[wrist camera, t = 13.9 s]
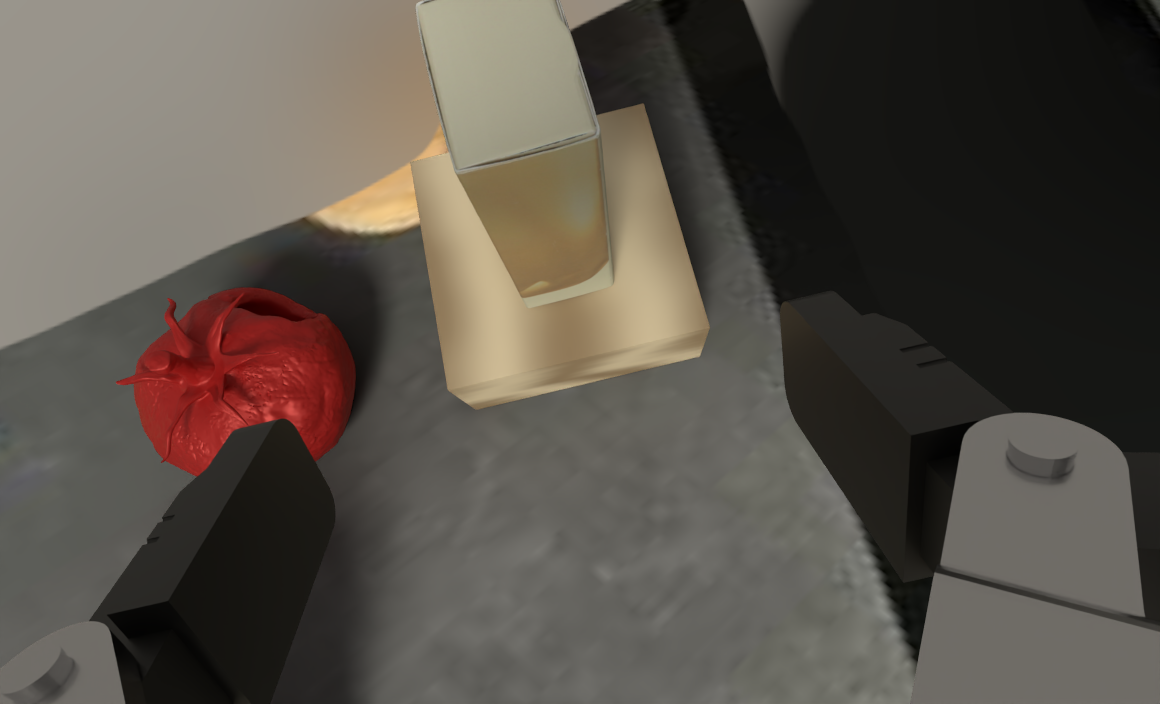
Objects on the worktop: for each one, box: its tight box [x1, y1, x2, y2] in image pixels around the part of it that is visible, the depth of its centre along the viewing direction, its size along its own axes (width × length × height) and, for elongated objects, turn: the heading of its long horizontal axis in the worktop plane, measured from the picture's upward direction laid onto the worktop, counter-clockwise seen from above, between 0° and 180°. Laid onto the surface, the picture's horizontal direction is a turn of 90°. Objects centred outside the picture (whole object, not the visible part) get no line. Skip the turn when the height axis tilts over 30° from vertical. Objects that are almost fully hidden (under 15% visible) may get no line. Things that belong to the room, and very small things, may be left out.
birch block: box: [410, 103, 710, 410], centre depth 32 cm, size 12×12×5 cm
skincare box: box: [416, 0, 614, 308], centre depth 24 cm, size 6×4×12 cm
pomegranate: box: [116, 287, 356, 477], centre depth 30 cm, size 10×10×9 cm
